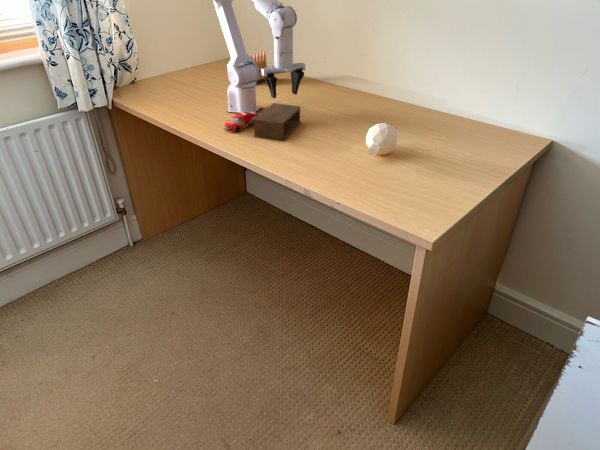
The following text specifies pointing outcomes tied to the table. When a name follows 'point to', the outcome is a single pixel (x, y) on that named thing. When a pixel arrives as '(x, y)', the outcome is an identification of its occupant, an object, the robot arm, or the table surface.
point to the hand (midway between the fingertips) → (284, 95)
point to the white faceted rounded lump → (381, 139)
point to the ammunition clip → (260, 64)
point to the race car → (240, 121)
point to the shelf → (277, 121)
